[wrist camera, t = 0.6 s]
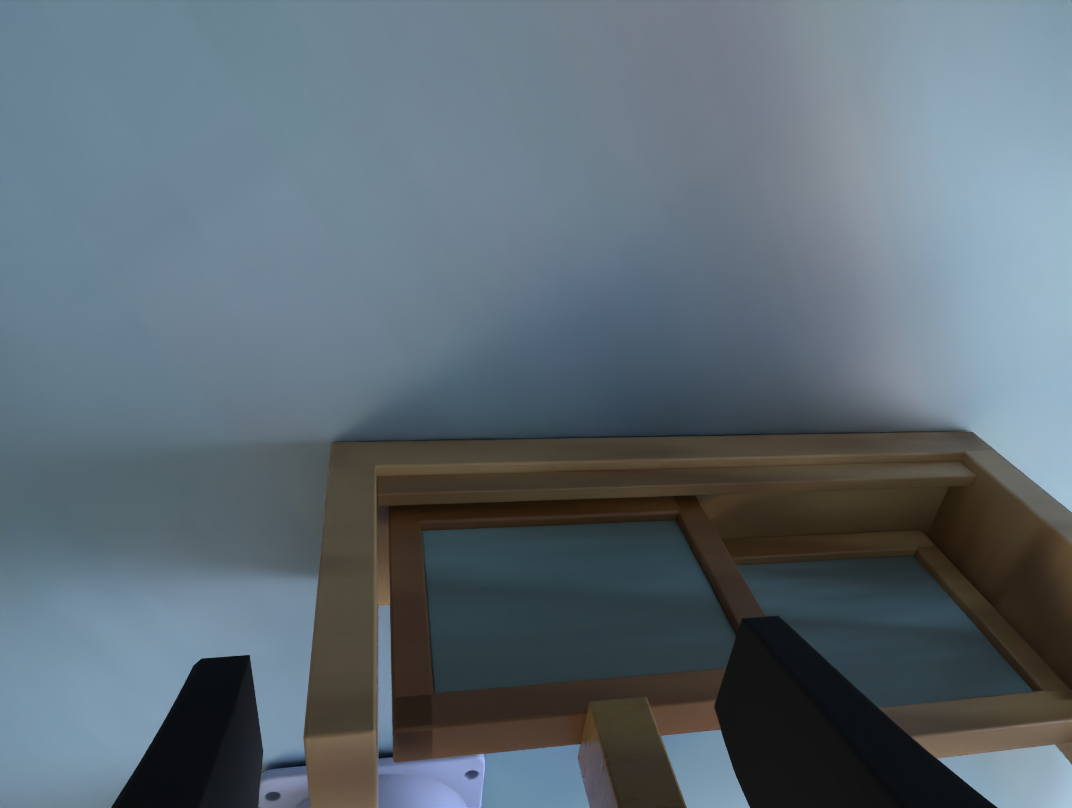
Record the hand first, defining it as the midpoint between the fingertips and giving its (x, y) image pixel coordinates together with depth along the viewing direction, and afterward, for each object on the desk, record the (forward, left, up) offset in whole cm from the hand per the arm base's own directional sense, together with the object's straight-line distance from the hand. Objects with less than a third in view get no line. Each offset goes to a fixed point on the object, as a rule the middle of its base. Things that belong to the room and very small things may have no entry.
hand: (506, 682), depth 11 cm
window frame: (-5, -7, -10) cm, 13 cm away
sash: (-4, -3, -9) cm, 10 cm away
